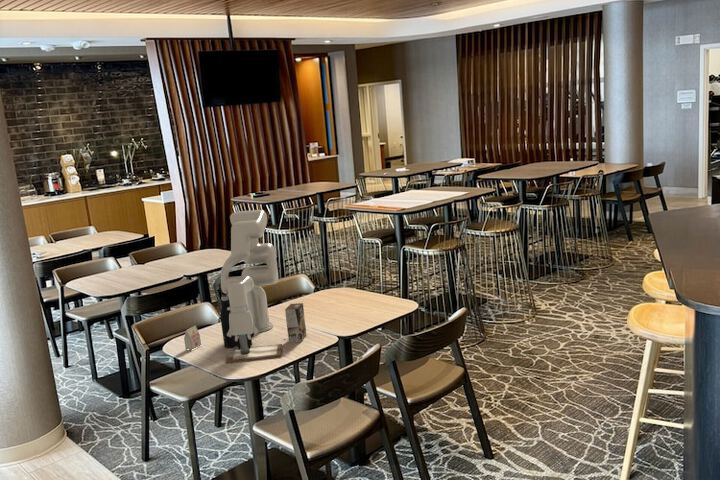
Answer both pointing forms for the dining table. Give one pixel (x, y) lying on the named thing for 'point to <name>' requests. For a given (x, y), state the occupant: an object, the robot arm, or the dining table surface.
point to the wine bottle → (226, 320)
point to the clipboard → (255, 353)
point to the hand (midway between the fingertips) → (244, 347)
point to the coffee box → (295, 322)
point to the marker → (244, 344)
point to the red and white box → (192, 338)
